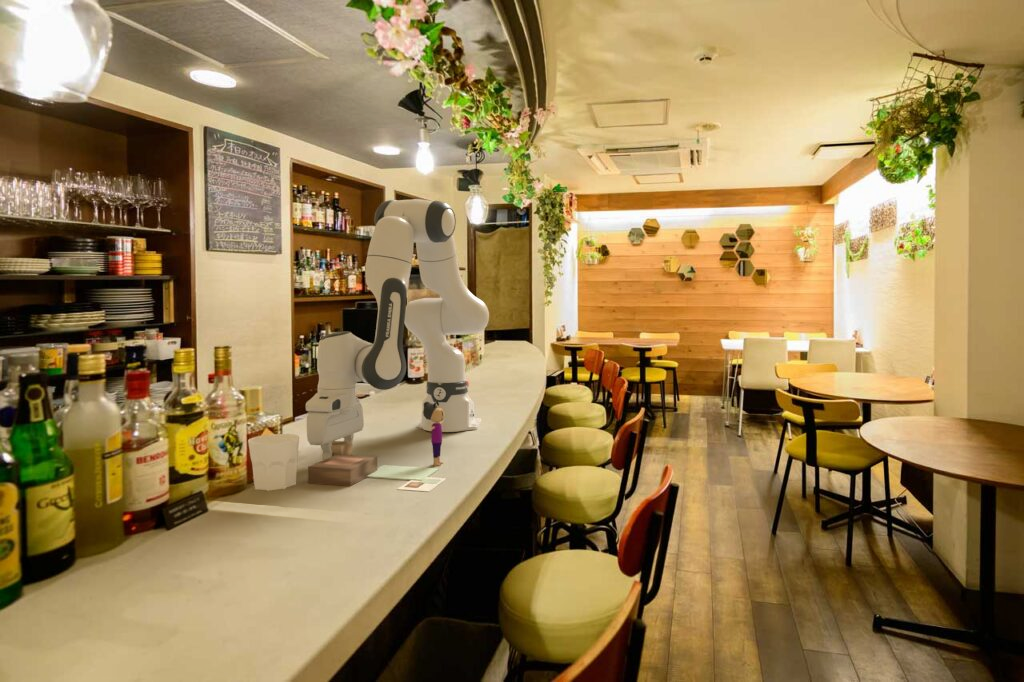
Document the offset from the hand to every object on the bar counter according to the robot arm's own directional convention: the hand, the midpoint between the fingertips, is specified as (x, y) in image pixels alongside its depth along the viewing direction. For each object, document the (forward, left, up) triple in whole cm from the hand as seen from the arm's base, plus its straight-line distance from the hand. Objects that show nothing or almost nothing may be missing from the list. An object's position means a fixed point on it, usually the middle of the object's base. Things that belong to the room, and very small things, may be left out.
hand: (337, 456), depth 147 cm
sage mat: (+5, +19, -2) cm, 20 cm away
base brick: (+11, +8, -2) cm, 14 cm away
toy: (-4, +23, -2) cm, 23 cm away
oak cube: (0, 0, -2) cm, 2 cm away
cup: (+20, -3, -2) cm, 20 cm away
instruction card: (+12, +27, -2) cm, 30 cm away
